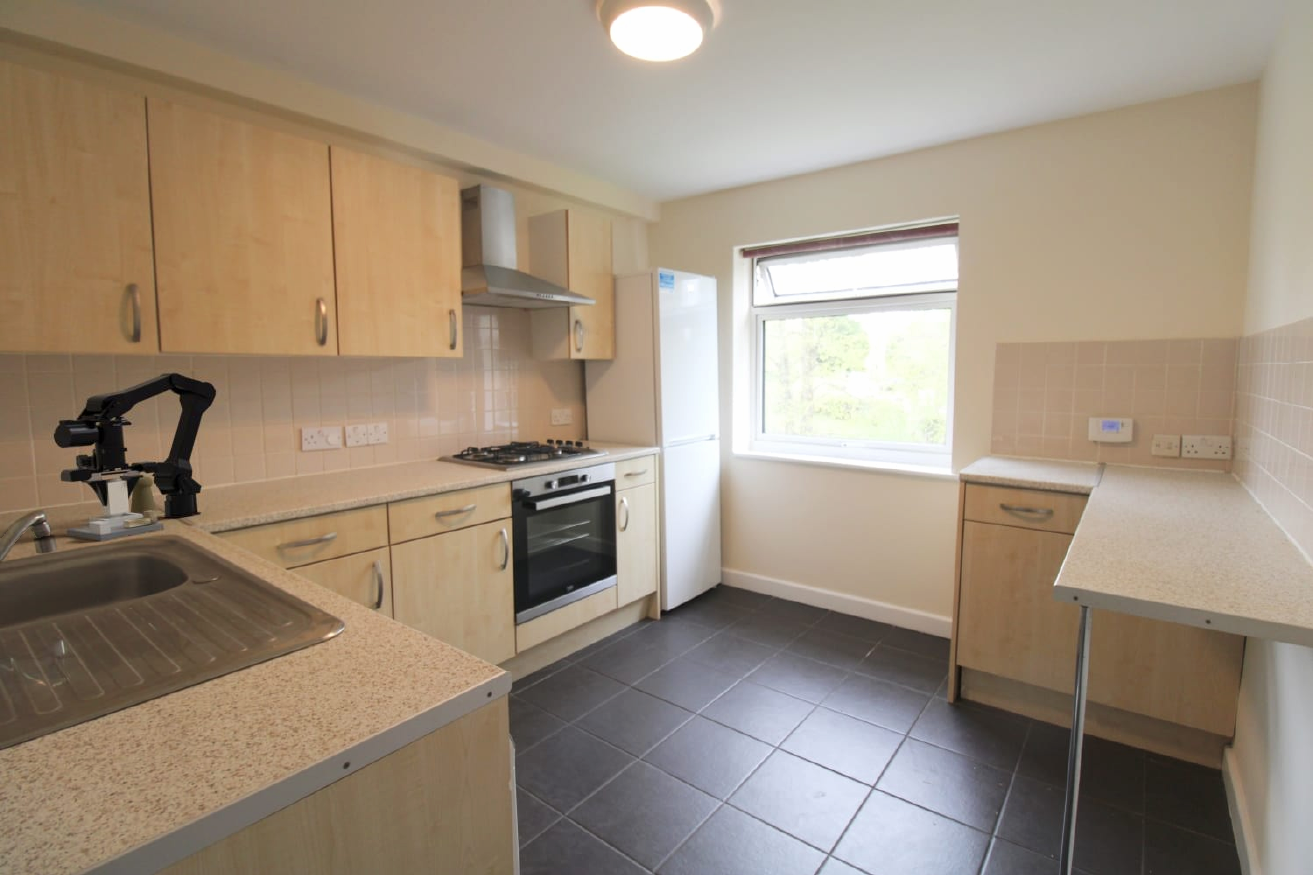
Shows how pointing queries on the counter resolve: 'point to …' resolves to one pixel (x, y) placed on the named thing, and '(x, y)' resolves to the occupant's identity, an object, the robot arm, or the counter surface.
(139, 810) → the counter surface
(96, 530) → the plate
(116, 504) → the white upright block
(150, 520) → the latch bolt
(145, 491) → the olive pepper mill
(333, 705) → the counter surface
